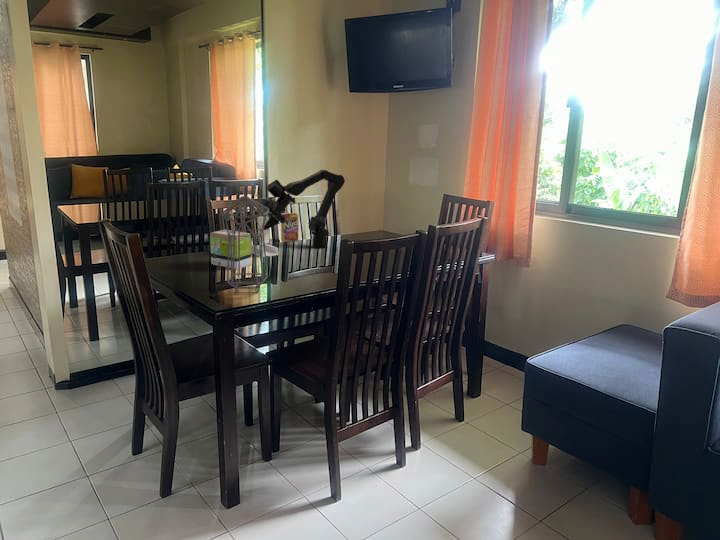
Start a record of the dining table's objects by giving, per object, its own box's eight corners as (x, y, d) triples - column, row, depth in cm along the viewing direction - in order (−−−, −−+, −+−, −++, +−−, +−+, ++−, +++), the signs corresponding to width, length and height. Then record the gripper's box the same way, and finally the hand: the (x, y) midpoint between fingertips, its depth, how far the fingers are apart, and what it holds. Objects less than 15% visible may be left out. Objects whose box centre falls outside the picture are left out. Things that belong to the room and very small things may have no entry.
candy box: (282, 242, 283) (282, 214, 279) (281, 240, 287) (280, 212, 283) (298, 241, 286) (298, 213, 282) (297, 240, 290) (296, 212, 286)
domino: (257, 241, 255) (257, 216, 252) (264, 240, 257) (263, 215, 254) (263, 243, 250) (262, 218, 247) (269, 242, 252) (268, 217, 249)
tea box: (210, 265, 230) (208, 232, 227) (226, 260, 239) (224, 228, 235) (237, 270, 224) (235, 235, 220) (252, 265, 232) (251, 232, 229)
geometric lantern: (271, 285, 202) (270, 194, 194) (265, 297, 187) (263, 199, 178) (230, 284, 202) (226, 193, 193) (221, 297, 187) (217, 198, 178)
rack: (249, 252, 257) (249, 245, 257) (266, 250, 263) (266, 243, 262) (260, 257, 247) (260, 250, 246) (278, 255, 252) (278, 248, 251)
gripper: (261, 190, 257) (241, 214, 254) (279, 194, 242) (257, 220, 239) (276, 205, 264) (256, 229, 260) (294, 210, 249) (273, 235, 245)
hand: (260, 228), depth 251 cm, fingers closed on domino, 6 cm apart
